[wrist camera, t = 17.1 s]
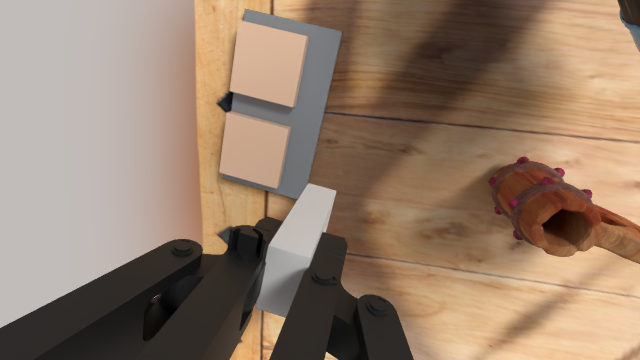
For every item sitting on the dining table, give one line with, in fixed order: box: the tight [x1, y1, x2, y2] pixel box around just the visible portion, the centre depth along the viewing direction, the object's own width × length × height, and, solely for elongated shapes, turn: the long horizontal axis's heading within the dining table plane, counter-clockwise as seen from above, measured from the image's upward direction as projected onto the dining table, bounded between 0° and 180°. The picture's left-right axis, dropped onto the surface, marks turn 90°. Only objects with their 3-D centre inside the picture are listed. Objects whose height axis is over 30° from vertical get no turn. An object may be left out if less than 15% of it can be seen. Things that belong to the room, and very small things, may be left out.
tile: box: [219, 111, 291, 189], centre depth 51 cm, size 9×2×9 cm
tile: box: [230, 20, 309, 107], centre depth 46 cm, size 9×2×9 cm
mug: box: [489, 157, 640, 264], centre depth 40 cm, size 15×8×15 cm, turn 75°
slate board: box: [222, 9, 343, 199], centre depth 50 cm, size 24×13×1 cm, turn 167°
